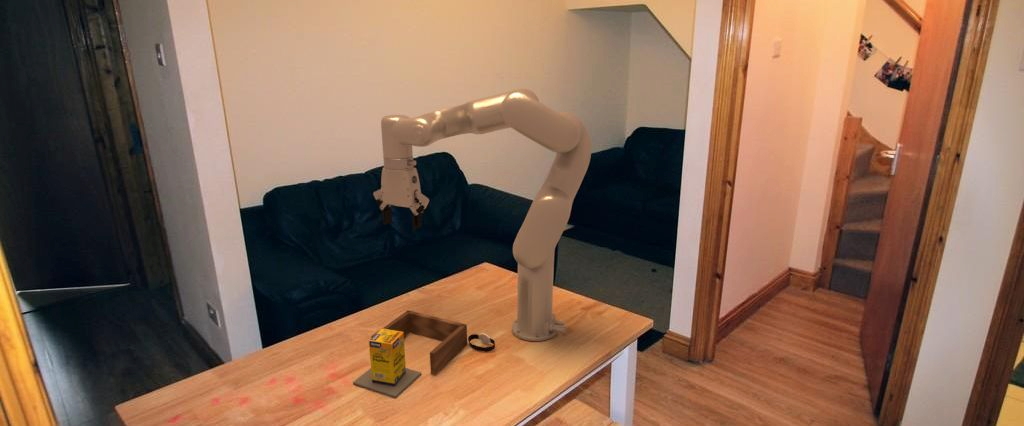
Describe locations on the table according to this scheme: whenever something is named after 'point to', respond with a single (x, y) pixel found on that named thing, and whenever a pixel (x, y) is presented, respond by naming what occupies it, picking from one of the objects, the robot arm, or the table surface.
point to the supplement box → (387, 357)
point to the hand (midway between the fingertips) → (402, 225)
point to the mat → (387, 390)
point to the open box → (433, 335)
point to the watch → (483, 338)
